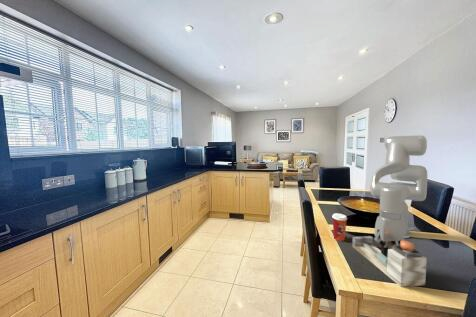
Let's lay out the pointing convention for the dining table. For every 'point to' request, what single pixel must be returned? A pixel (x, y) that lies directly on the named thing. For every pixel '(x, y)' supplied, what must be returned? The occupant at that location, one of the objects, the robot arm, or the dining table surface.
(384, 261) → the carriage
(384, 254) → the robot arm
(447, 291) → the dining table surface
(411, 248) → the button
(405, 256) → the track
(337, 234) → the paper cup
